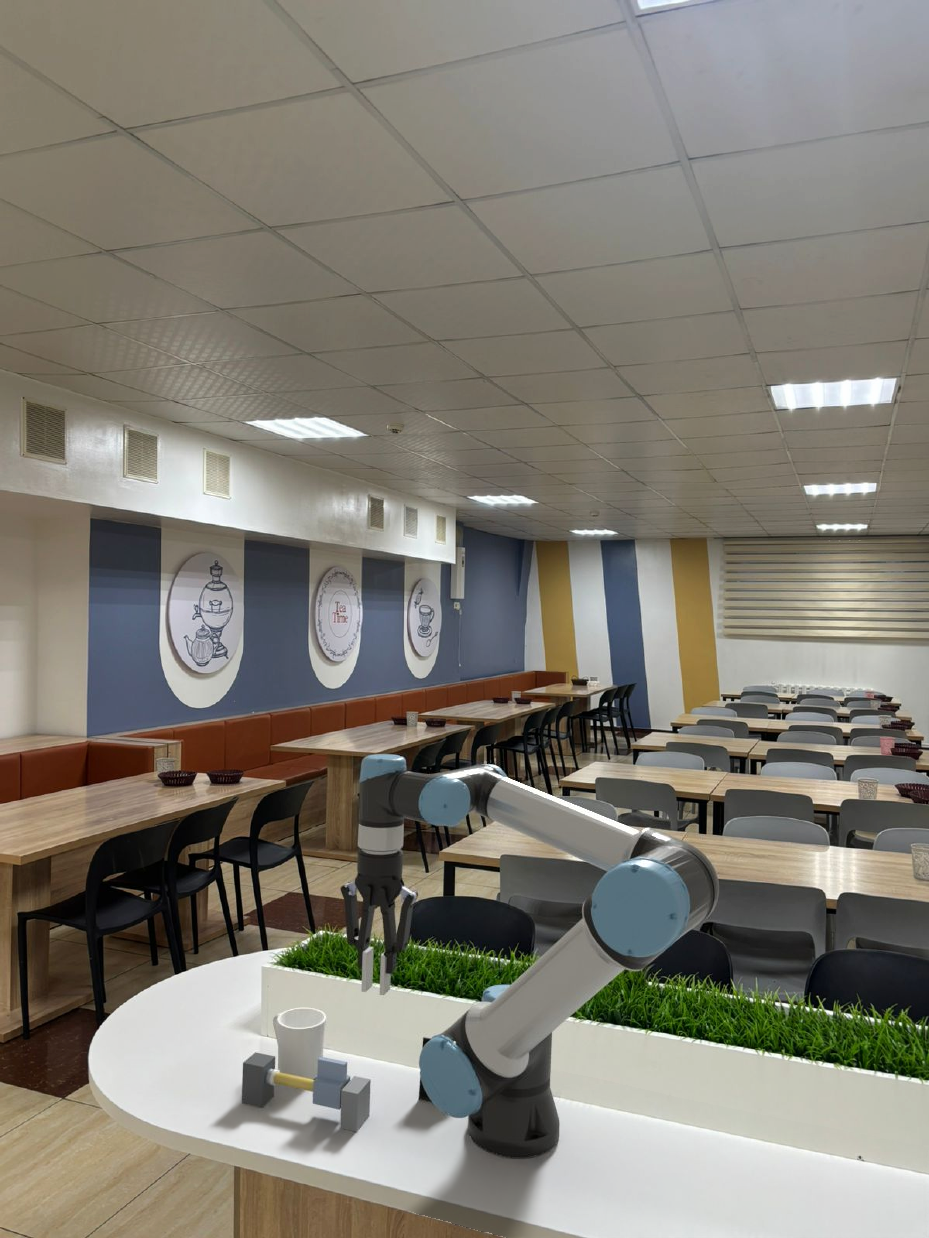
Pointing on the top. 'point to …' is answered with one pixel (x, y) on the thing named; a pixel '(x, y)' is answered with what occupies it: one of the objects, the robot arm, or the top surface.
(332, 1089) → the sleeve
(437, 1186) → the top surface
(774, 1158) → the top surface
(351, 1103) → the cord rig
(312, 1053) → the mug
